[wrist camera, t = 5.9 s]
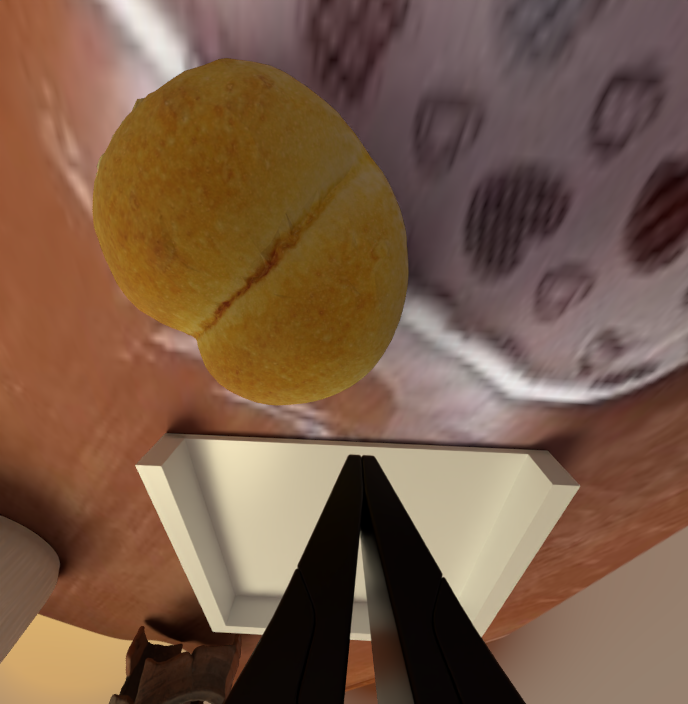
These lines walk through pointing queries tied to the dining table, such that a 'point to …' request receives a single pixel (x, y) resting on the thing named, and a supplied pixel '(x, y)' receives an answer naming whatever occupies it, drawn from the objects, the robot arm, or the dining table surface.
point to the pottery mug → (178, 673)
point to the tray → (308, 503)
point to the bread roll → (254, 230)
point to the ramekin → (23, 580)
